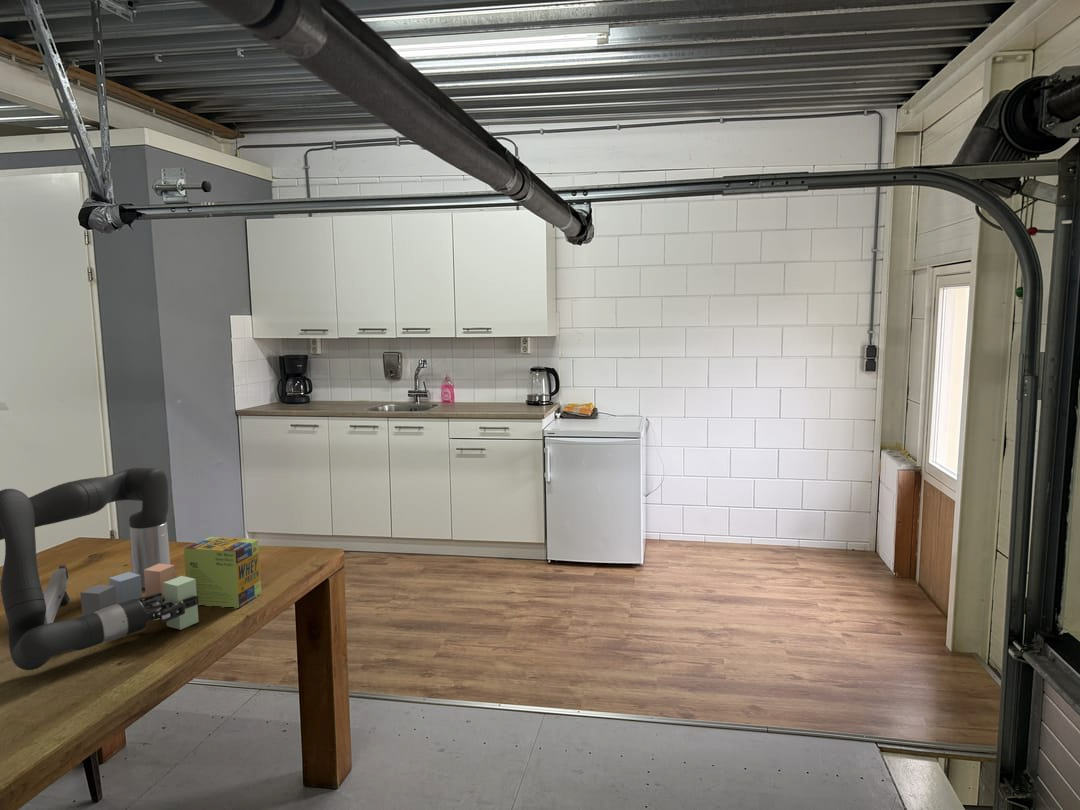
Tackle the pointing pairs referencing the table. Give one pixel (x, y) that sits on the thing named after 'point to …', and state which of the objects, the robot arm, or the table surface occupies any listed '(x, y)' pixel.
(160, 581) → the terracotta block
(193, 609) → the sage block
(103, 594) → the grey tall block
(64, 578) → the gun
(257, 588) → the protein box
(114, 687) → the table surface
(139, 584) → the slate block
